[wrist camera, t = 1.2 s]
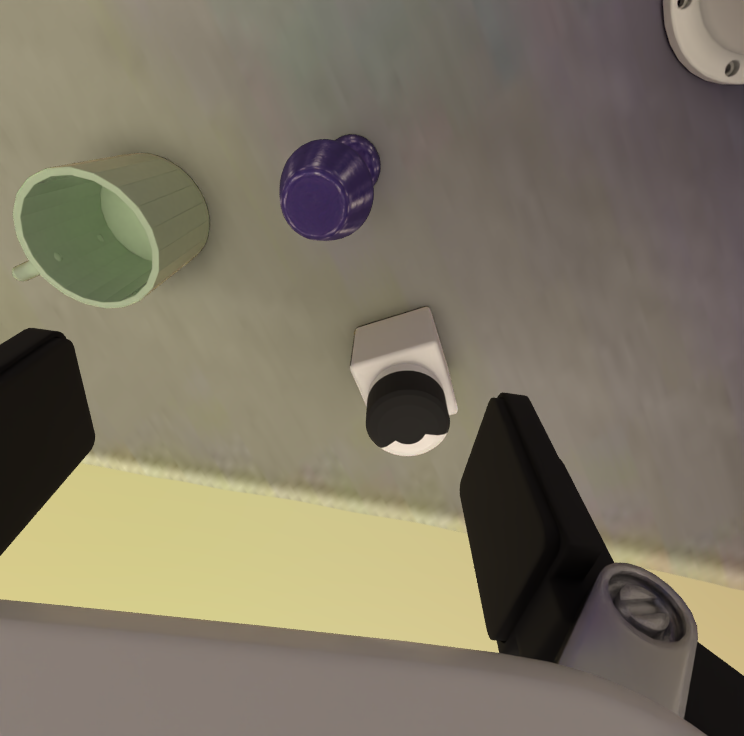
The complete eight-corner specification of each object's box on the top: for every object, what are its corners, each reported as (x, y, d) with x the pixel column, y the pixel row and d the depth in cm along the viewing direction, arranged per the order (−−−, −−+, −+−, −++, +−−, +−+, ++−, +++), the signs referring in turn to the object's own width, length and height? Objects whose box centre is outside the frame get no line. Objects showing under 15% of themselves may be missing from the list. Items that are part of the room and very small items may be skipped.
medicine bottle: (353, 327, 40) (342, 404, 29) (429, 304, 38) (444, 376, 28) (379, 388, 43) (376, 476, 33) (448, 369, 42) (469, 455, 31)
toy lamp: (322, 199, 34) (275, 266, 20) (311, 132, 31) (249, 152, 17) (383, 192, 33) (380, 255, 19) (377, 124, 31) (369, 137, 17)
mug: (168, 133, 32) (96, 141, 24) (229, 244, 36) (185, 282, 28) (42, 195, 34) (-60, 222, 26) (113, 292, 38) (43, 340, 30)
